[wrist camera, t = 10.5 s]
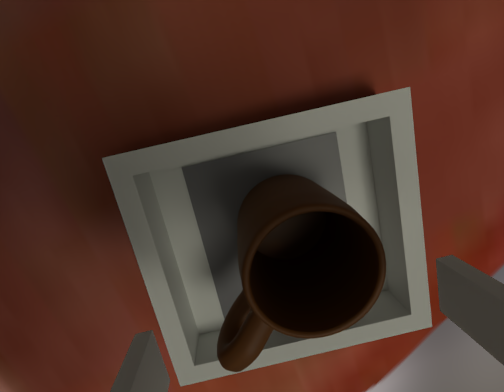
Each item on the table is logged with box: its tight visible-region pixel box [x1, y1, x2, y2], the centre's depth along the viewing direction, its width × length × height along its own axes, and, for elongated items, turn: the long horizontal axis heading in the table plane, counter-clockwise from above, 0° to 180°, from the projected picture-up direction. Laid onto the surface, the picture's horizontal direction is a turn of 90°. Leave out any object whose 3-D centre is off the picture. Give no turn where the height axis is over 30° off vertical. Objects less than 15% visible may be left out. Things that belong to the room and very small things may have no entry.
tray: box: [102, 87, 432, 386], centre depth 23 cm, size 20×18×4 cm
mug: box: [217, 174, 386, 372], centre depth 20 cm, size 12×8×9 cm, turn 144°
